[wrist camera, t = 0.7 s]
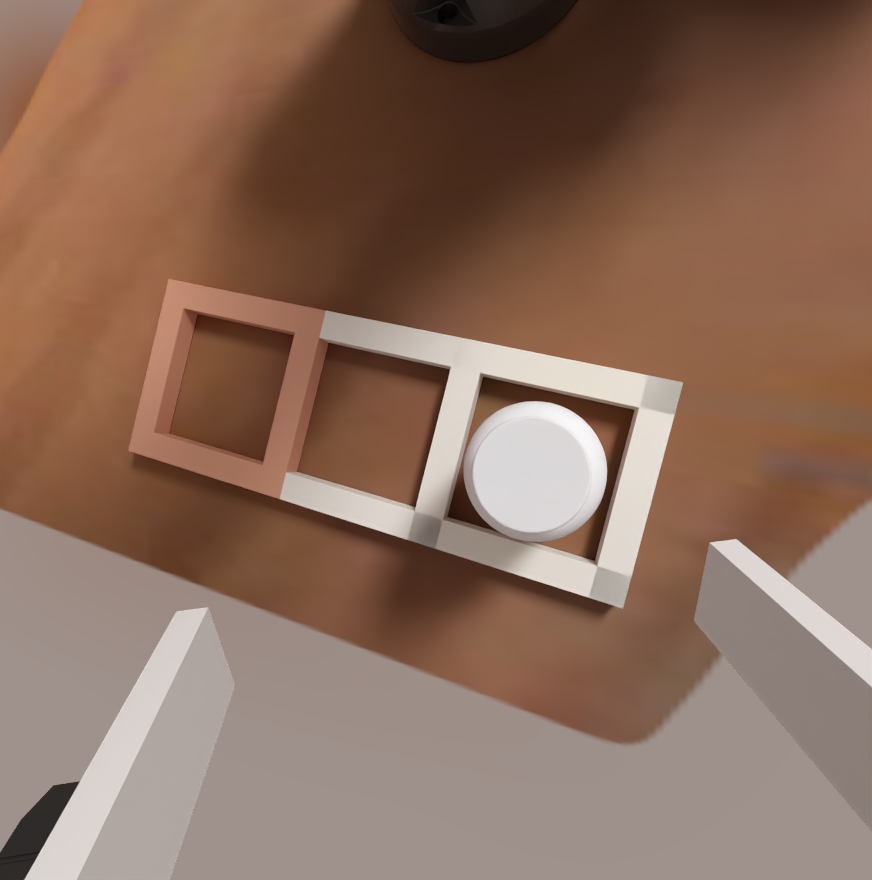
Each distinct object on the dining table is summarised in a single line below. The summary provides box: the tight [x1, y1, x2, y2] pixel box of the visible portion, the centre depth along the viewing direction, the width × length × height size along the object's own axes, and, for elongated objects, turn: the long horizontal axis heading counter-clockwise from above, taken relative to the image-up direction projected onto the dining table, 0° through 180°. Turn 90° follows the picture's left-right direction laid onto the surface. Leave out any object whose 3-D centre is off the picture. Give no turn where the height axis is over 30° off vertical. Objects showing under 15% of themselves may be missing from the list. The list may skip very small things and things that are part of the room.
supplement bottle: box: [464, 401, 607, 542], centre depth 24 cm, size 7×7×13 cm
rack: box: [128, 279, 683, 608], centre depth 32 cm, size 38×14×2 cm, turn 75°
